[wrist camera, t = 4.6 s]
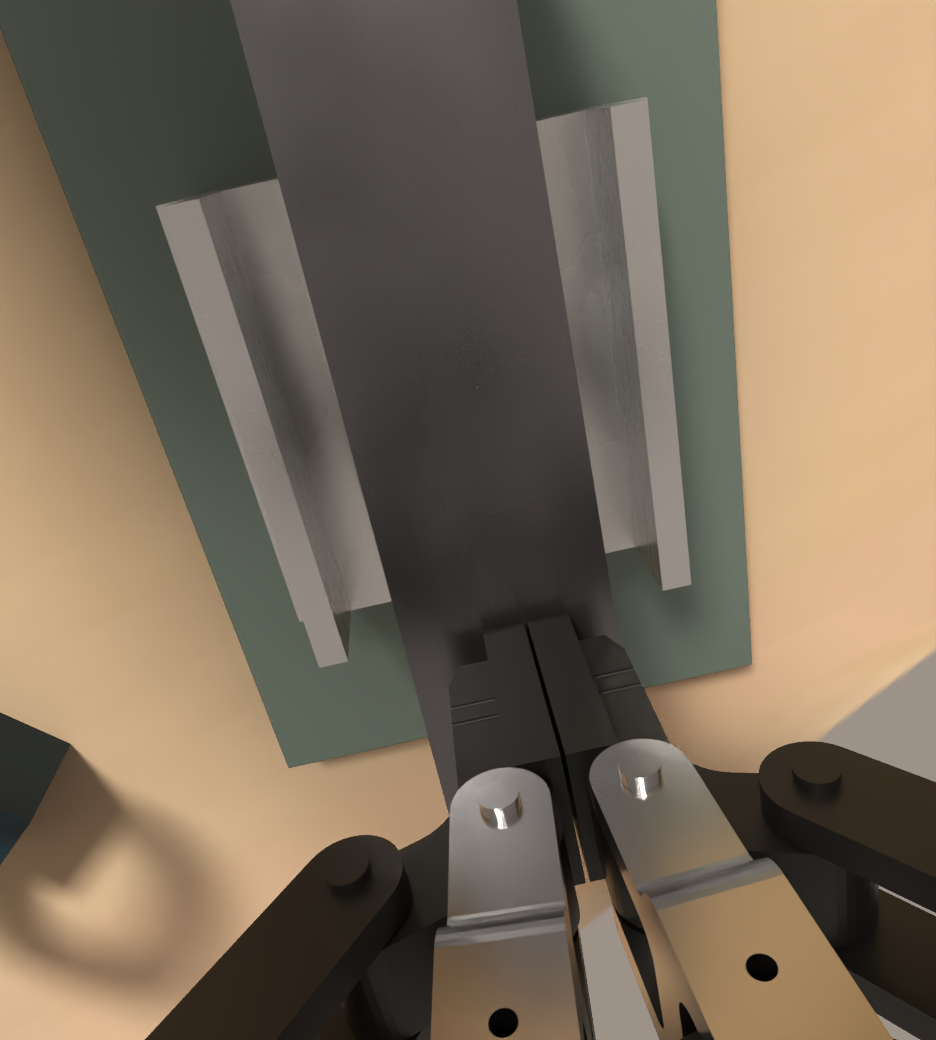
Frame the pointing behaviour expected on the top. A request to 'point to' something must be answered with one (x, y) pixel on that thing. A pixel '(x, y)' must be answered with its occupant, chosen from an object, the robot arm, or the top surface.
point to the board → (247, 158)
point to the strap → (437, 315)
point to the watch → (23, 776)
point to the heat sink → (312, 398)
